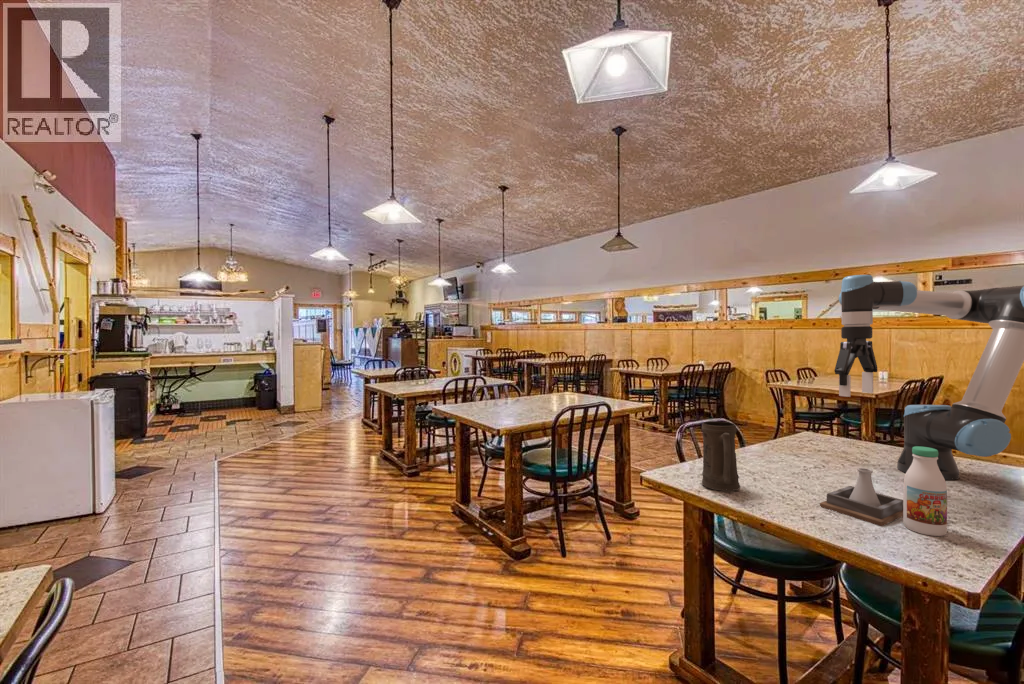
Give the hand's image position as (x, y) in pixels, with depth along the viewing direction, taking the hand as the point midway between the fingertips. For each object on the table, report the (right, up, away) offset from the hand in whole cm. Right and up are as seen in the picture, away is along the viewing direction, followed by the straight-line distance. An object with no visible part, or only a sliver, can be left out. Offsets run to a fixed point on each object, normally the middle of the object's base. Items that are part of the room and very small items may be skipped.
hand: (856, 394), depth 134 cm
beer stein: (-41, -30, 0) cm, 51 cm away
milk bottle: (-6, -30, -29) cm, 42 cm away
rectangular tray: (-11, -29, -16) cm, 35 cm away
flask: (-11, -29, -16) cm, 35 cm away
